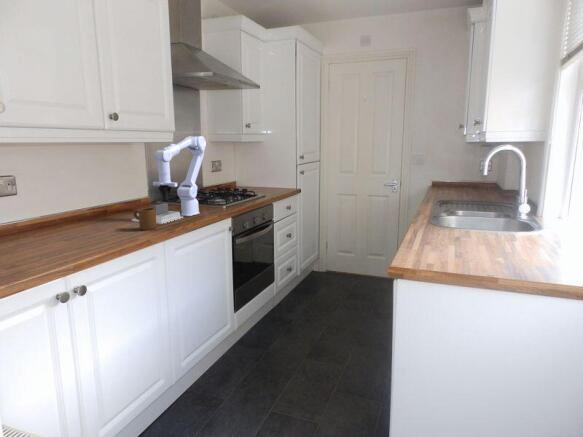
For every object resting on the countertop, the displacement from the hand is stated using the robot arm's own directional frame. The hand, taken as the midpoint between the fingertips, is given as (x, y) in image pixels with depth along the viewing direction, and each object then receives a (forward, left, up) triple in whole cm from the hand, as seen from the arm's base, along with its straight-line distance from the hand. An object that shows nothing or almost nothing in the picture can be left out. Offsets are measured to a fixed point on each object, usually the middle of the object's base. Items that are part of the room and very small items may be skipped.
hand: (166, 200), depth 214 cm
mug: (+22, +5, -11) cm, 25 cm away
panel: (+2, -2, -9) cm, 10 cm away
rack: (+2, -5, -10) cm, 12 cm away
